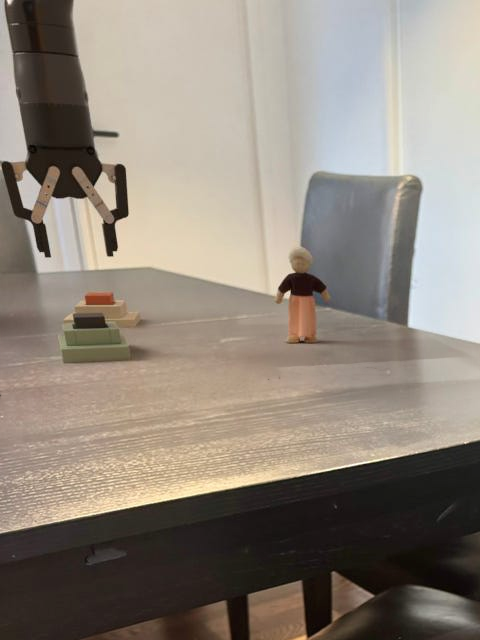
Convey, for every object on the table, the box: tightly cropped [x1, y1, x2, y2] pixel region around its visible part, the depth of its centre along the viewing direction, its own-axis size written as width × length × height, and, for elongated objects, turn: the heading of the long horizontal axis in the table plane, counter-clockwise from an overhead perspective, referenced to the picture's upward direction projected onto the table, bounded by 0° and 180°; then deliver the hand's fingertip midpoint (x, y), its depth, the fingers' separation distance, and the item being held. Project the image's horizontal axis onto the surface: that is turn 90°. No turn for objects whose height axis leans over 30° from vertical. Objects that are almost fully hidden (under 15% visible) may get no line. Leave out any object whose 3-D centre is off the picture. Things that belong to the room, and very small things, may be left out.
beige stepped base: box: [62, 300, 142, 329], centre depth 140 cm, size 10×8×3 cm
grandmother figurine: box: [274, 245, 331, 344], centre depth 128 cm, size 8×4×13 cm, turn 114°
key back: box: [84, 292, 115, 305], centre depth 139 cm, size 4×4×2 cm
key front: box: [73, 313, 106, 329], centre depth 117 cm, size 4×4×2 cm
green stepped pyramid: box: [57, 321, 132, 364], centre depth 118 cm, size 11×8×4 cm
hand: (79, 256), depth 113 cm, fingers open, 6 cm apart
